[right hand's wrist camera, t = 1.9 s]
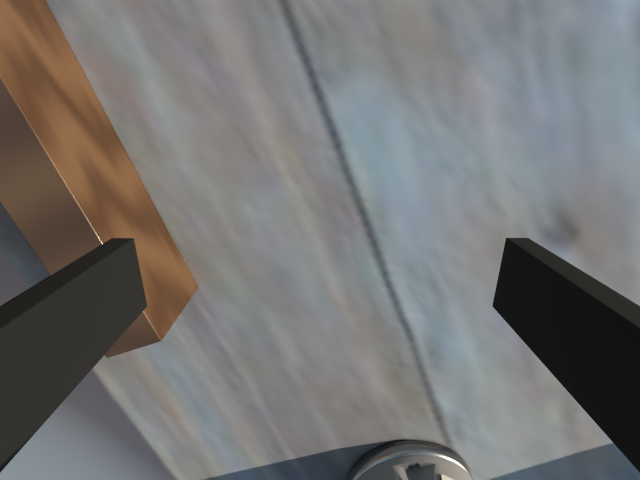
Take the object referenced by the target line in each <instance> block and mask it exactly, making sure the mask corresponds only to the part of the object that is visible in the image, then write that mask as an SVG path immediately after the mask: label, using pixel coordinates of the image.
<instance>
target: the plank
mask: <svg viewBox="0 0 640 480" xmlns="http://www.w3.org/2000/svg"><path fill="white" fill-rule="evenodd" d="M0 202H1V204H2V205H3V207H4V208H5V210H6V211H7V213H8V214H9V216H10V217H11V219H12V220H13V221H14V223H15V224H16V226H17V227H18V229H19V230H20V232H21V233H22V235H23V236H24V237H25V239H26V240H27V242H28V243H29V245H30V246H31V248H32V249H33V251H34V252H35V254H36V255H37V256H38V258H39V259H40V261H41V262H42V264H43V265H44V267H45V268H46V270H47V271H48V272H49V274H50V275H52V274H54V273H56V272H57V271H59V270H60V269H62V268H64V267H65V266H67V265H69V264H70V263H72V262H74V261H75V260H77V259H79V258H80V257H82V256H83V255H85V254H87V253H88V252H90V251H92V250H93V249H95V248H97V247H98V246H100V245H101V244H103V243H105V242H106V241H108V240H110V239H111V238H134V242H135V247H136V252H137V257H138V262H139V267H140V272H141V277H142V282H143V287H144V292H145V297H146V302H147V307H146V308H145V309H144V311H143V312H142V313H141V314H140V315H139V316H138V317H137V318H136V320H135V321H134V322H133V323H132V324H131V325H130V326H129V328H128V329H127V330H126V331H125V332H124V333H123V334H122V335H121V337H120V338H119V339H118V340H117V341H116V342H115V343H114V344H113V346H112V347H111V348H110V349H109V350H108V351H107V352H106V353H105V356H106V357H107V358H108V357H112V356H115V355H118V354H121V353H124V352H128V351H131V350H134V349H137V348H140V347H144V346H147V345H150V344H153V343H156V342H160V341H161V340H162V339H163V338H164V336H165V335H166V333H167V332H168V330H169V329H170V328H171V326H172V325H173V323H174V322H175V320H176V319H177V318H178V316H179V315H180V313H181V312H182V310H183V309H184V308H185V306H186V305H187V303H188V302H189V300H190V299H191V297H192V296H193V295H194V293H195V292H196V290H197V289H198V287H197V285H196V283H195V281H194V279H193V277H192V275H191V273H190V272H189V270H188V268H187V266H186V264H185V262H184V260H183V258H182V256H181V255H180V253H179V251H178V249H177V247H176V245H175V243H174V241H173V239H172V238H171V236H170V234H169V232H168V230H167V228H166V226H165V224H164V223H163V221H162V219H161V217H160V215H159V213H158V211H157V209H156V207H155V206H154V204H153V202H152V200H151V198H150V196H149V194H148V192H147V190H146V189H145V187H144V185H143V183H142V181H141V179H140V177H139V175H138V174H137V172H136V170H135V168H134V166H133V164H132V162H131V160H130V158H129V157H128V155H127V153H126V151H125V149H124V147H123V145H122V143H121V141H120V140H119V138H118V136H117V134H116V132H115V130H114V128H113V126H112V125H111V123H110V121H109V119H108V117H107V115H106V113H105V111H104V109H103V108H102V106H101V104H100V102H99V100H98V98H97V96H96V94H95V92H94V91H93V89H92V87H91V85H90V83H89V81H88V79H87V77H86V75H85V74H84V72H83V70H82V68H81V66H80V64H79V62H78V60H77V59H76V57H75V55H74V53H73V51H72V49H71V47H70V45H69V43H68V42H67V40H66V38H65V36H64V34H63V32H62V30H61V28H60V26H59V25H58V23H57V21H56V19H55V17H54V15H53V13H52V11H51V10H50V8H49V6H48V4H47V2H46V0H0Z"/></svg>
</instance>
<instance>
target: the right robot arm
mask: <svg viewBox="0 0 640 480" xmlns="http://www.w3.org/2000/svg"><path fill="white" fill-rule="evenodd" d="M146 307H147V302H146V297H145V292H144V287H143V282H142V277H141V272H140V267H139V262H138V257H137V252H136V247H135V242H134V238H111V239H110V240H108V241H106V242H105V243H103V244H101V245H100V246H98V247H97V248H95V249H93V250H92V251H90V252H88V253H87V254H85V255H83V256H82V257H80V258H79V259H77V260H75V261H74V262H72V263H70V264H69V265H67V266H65V267H64V268H62V269H60V270H59V271H57V272H56V273H54V274H52V275H51V276H49V277H47V278H46V279H44V280H42V281H41V282H39V283H38V284H36V285H34V286H33V287H31V288H29V289H28V290H26V291H24V292H23V293H21V294H19V295H18V296H16V297H15V298H13V299H11V300H10V301H8V302H6V303H5V304H3V305H1V306H0V472H1V471H2V470H3V469H4V468H5V466H6V465H7V464H8V463H9V462H10V461H11V460H12V458H13V457H14V456H15V455H16V454H17V453H18V452H19V451H20V449H21V448H22V447H23V446H24V445H25V444H26V443H27V442H28V440H29V439H30V438H31V437H32V436H33V435H34V434H35V433H36V431H37V430H38V429H39V428H40V427H41V426H42V425H43V423H44V422H45V421H46V420H47V419H48V418H49V417H50V416H51V414H52V413H53V412H54V411H55V410H56V409H57V408H58V406H59V405H60V404H61V403H62V402H63V401H64V400H65V399H66V397H67V396H68V395H69V394H70V393H71V392H72V391H73V390H74V388H75V387H76V386H77V385H78V384H79V383H80V382H81V381H82V379H83V378H84V377H85V376H86V375H87V374H88V373H89V372H90V370H91V369H92V368H93V367H94V366H95V365H96V364H97V363H98V361H99V360H100V359H101V358H102V357H103V356H104V355H105V353H106V352H107V351H108V350H109V349H110V348H111V347H112V346H113V344H114V343H115V342H116V341H117V340H118V339H119V338H120V337H121V335H122V334H123V333H124V332H125V331H126V330H127V329H128V328H129V326H130V325H131V324H132V323H133V322H134V321H135V320H136V318H137V317H138V316H139V315H140V314H141V313H142V312H143V311H144V309H145V308H146ZM493 307H494V308H495V309H496V311H497V312H498V313H499V314H500V315H501V316H502V317H503V318H504V320H505V321H506V322H507V323H508V324H509V325H510V326H511V328H512V329H513V330H514V331H515V332H516V333H517V334H518V335H519V337H520V338H521V339H522V340H523V341H524V342H525V343H526V344H527V346H528V347H529V348H530V349H531V350H532V351H533V352H534V353H535V355H536V356H537V357H538V358H539V359H540V360H541V361H542V363H543V364H544V365H545V366H546V367H547V368H548V369H549V370H550V372H551V373H552V374H553V375H554V376H555V377H556V378H557V379H558V381H559V382H560V383H561V384H562V385H563V386H564V387H565V388H566V390H567V391H568V392H569V393H570V394H571V395H572V396H573V398H574V399H575V400H576V401H577V402H578V403H579V404H580V405H581V407H582V408H583V409H584V410H585V411H586V412H587V413H588V414H589V416H590V417H591V418H592V419H593V420H594V421H595V422H596V423H597V425H598V426H599V427H600V428H601V429H602V430H603V431H604V433H605V434H606V435H607V436H608V437H609V438H610V439H611V440H612V442H613V443H614V444H615V445H616V446H617V447H618V448H619V449H620V451H621V452H622V453H623V454H624V455H625V456H626V457H627V458H628V460H629V461H630V462H631V463H632V464H633V465H634V466H635V468H636V469H637V470H638V471H639V472H640V306H639V305H637V304H635V303H634V302H632V301H630V300H629V299H627V298H625V297H624V296H622V295H621V294H619V293H617V292H616V291H614V290H612V289H611V288H609V287H607V286H606V285H604V284H602V283H601V282H599V281H598V280H596V279H594V278H593V277H591V276H589V275H588V274H586V273H584V272H583V271H581V270H580V269H578V268H576V267H575V266H573V265H571V264H570V263H568V262H566V261H565V260H563V259H561V258H560V257H558V256H557V255H555V254H553V253H552V252H550V251H548V250H547V249H545V248H543V247H542V246H540V245H539V244H537V243H535V242H534V241H532V240H530V239H529V238H506V242H505V247H504V252H503V257H502V262H501V267H500V272H499V277H498V282H497V287H496V292H495V297H494V302H493ZM347 480H473V478H472V476H471V473H470V471H469V469H468V466H467V465H466V463H465V461H464V460H463V459H462V458H461V457H460V456H459V455H458V454H457V453H455V452H454V451H452V450H451V449H449V448H447V447H445V446H443V445H440V444H437V443H433V442H428V441H419V440H408V441H399V442H394V443H390V444H387V445H384V446H381V447H379V448H376V449H374V450H372V451H371V452H369V453H367V454H366V455H365V456H363V457H362V458H361V459H360V460H359V461H358V462H357V463H356V464H355V465H354V466H353V468H352V469H351V471H350V473H349V475H348V477H347Z"/></svg>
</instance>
